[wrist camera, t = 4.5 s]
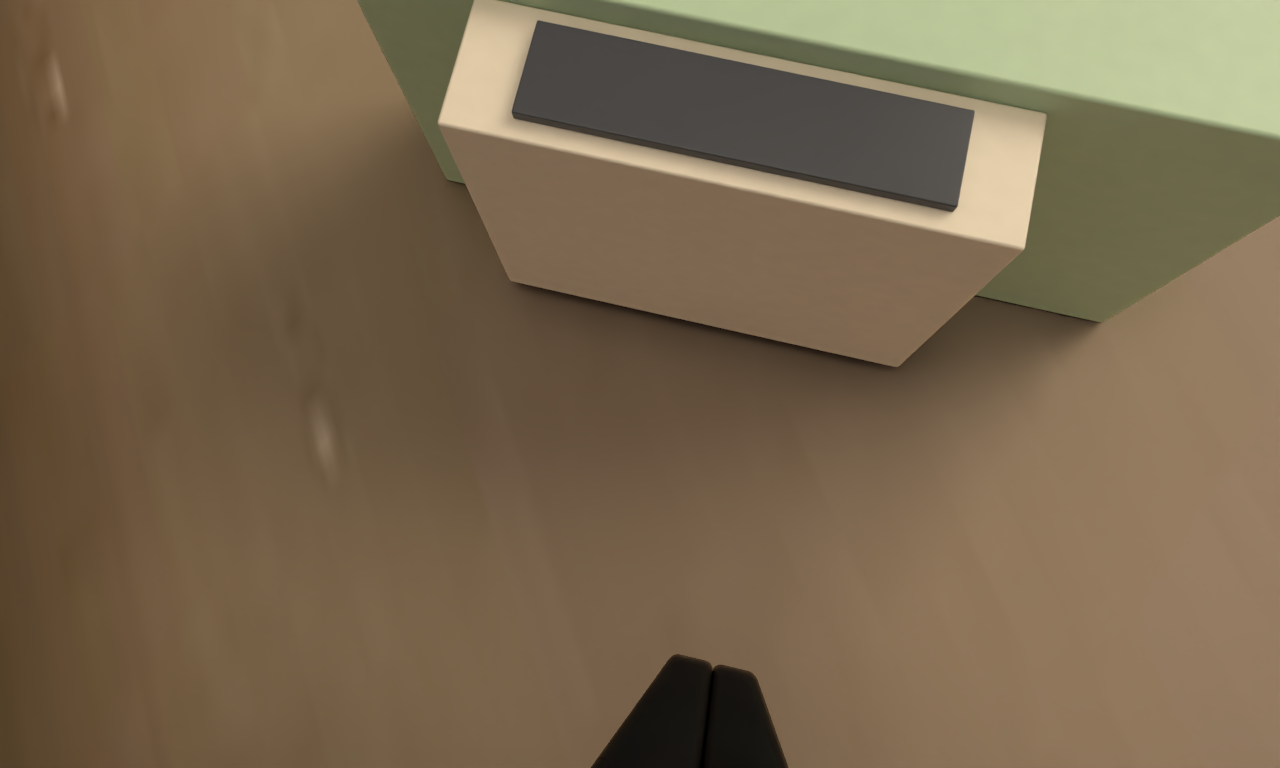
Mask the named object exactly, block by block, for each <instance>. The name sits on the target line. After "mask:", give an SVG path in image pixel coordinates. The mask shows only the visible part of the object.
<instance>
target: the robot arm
mask: <svg viewBox="0 0 1280 768" xmlns="http://www.w3.org/2000/svg"><path fill="white" fill-rule="evenodd" d="M591 768H788V765H787V762H786V759H785V757H784V754H783V751H782V748H781V745H780V742H779V740H778V737H777V734H776V731H775V728H774V725H773V722H772V720H771V717H770V714H769V711H768V708H767V705H766V703H765V700H764V697H763V694H762V691H761V688H760V686H759V683H758V680H757V678H756V677H755V675H754V674H753V673H752V672H749V671H746V670H742V669H738V668H733V667H729V666H725V665H717V666H715V667H714V668H713V670H712V666H711V664H710V663H709V662H707V661H705V660H701V659H696V658H692V657H688V656H684V655H680V654H676V655H673V656H672V657H671V658H670V659H669V660H668V661H667V663H666V664H665V665H664V667H663V668H662V669H661V671H660V672H659V674H658V675H657V676H656V678H655V679H654V681H653V682H652V683H651V685H650V686H649V688H648V689H647V690H646V692H645V693H644V694H643V696H642V697H641V699H640V700H639V701H638V703H637V704H636V706H635V707H634V708H633V710H632V711H631V713H630V714H629V715H628V717H627V718H626V720H625V721H624V722H623V724H622V725H621V726H620V728H619V729H618V731H617V732H616V733H615V735H614V736H613V738H612V739H611V740H610V742H609V743H608V745H607V746H606V747H605V749H604V750H603V751H602V753H601V754H600V756H599V757H598V758H597V760H596V761H595V763H594V764H593V765H592V767H591Z"/></svg>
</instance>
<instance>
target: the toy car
mask: <svg viewBox="0 0 1280 768" xmlns="http://www.w3.org/2000/svg"><path fill="white" fill-rule="evenodd" d="M357 1H358V3H359V5H360V7H361V9H362V11H363V13H364V15H365V17H366V19H367V21H368V23H369V25H370V27H371V29H372V31H373V33H374V35H375V37H376V39H377V41H378V43H379V45H380V47H381V49H382V51H383V53H384V55H385V57H386V59H387V61H388V63H389V65H390V67H391V69H392V71H393V73H394V75H395V77H396V79H397V81H398V83H399V85H400V87H401V89H402V91H403V93H404V95H405V97H406V99H407V101H408V103H409V105H410V107H411V109H412V111H413V113H414V115H415V117H416V119H417V121H418V123H419V125H420V127H421V129H422V131H423V133H424V135H425V137H426V139H427V141H428V143H429V145H430V147H431V149H432V151H433V153H434V155H435V157H436V159H437V161H438V163H439V165H440V167H441V169H442V171H443V173H444V175H445V177H446V179H448V180H450V181H455V182H460V183H464V184H466V187H467V189H468V191H469V193H470V195H471V197H472V200H473V202H474V204H475V206H476V208H477V210H478V213H479V215H480V217H481V219H482V221H483V223H484V226H485V228H486V230H487V232H488V234H489V236H490V239H491V241H492V243H493V245H494V247H495V249H496V252H497V254H498V256H499V258H500V260H501V262H502V265H503V267H504V269H505V271H506V273H507V276H508V278H509V280H510V281H513V282H517V283H522V284H526V285H531V286H535V287H540V288H544V289H549V290H553V291H558V292H562V293H567V294H571V295H575V296H580V297H584V298H589V299H593V300H598V301H602V302H607V303H611V304H616V305H620V306H625V307H629V308H634V309H638V310H642V311H647V312H651V313H656V314H660V315H665V316H669V317H674V318H678V319H683V320H687V321H692V322H696V323H701V324H705V325H710V326H714V327H718V328H723V329H727V330H732V331H736V332H741V333H745V334H750V335H754V336H759V337H763V338H768V339H772V340H777V341H781V342H786V343H790V344H794V345H799V346H803V347H808V348H812V349H817V350H821V351H826V352H830V353H835V354H839V355H844V356H848V357H853V358H857V359H862V360H866V361H870V362H875V363H879V364H884V365H888V366H893V367H899V366H900V365H901V364H902V363H903V362H904V361H905V360H906V359H907V358H908V357H909V356H910V355H911V354H913V353H914V352H915V351H916V350H917V349H918V348H919V347H920V346H921V345H922V344H923V343H924V342H925V341H927V340H928V339H929V338H930V337H931V336H932V335H933V334H934V333H935V332H936V331H937V330H938V329H939V328H940V327H942V326H943V325H944V324H945V323H946V322H947V321H948V320H949V319H950V318H951V317H952V316H953V315H954V314H956V313H957V312H958V311H959V310H960V309H961V308H962V307H963V306H964V305H965V304H966V303H967V302H968V301H969V300H971V299H972V298H973V297H974V296H975V295H977V296H982V297H987V298H991V299H996V300H1000V301H1005V302H1009V303H1014V304H1019V305H1023V306H1028V307H1032V308H1037V309H1042V310H1046V311H1051V312H1055V313H1060V314H1064V315H1069V316H1074V317H1078V318H1083V319H1087V320H1092V321H1096V322H1104V321H1106V320H1108V319H1109V318H1111V317H1113V316H1114V315H1116V314H1118V313H1119V312H1121V311H1123V310H1124V309H1126V308H1128V307H1129V306H1131V305H1133V304H1134V303H1136V302H1138V301H1139V300H1141V299H1142V298H1144V297H1146V296H1147V295H1149V294H1151V293H1152V292H1154V291H1156V290H1157V289H1159V288H1161V287H1162V286H1164V285H1166V284H1167V283H1169V282H1171V281H1172V280H1174V279H1176V278H1177V277H1179V276H1180V275H1182V274H1184V273H1185V272H1187V271H1189V270H1190V269H1192V268H1194V267H1195V266H1197V265H1199V264H1200V263H1202V262H1204V261H1205V260H1207V259H1209V258H1210V257H1212V256H1214V255H1215V254H1217V253H1219V252H1220V251H1222V250H1223V249H1225V248H1227V247H1228V246H1230V245H1232V244H1233V243H1235V242H1237V241H1238V240H1240V239H1242V238H1243V237H1245V236H1247V235H1248V234H1250V233H1252V232H1253V231H1255V230H1257V229H1258V228H1260V227H1261V226H1263V225H1265V224H1266V223H1268V222H1270V221H1271V220H1273V219H1275V218H1276V217H1278V216H1280V0H357Z"/></svg>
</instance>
